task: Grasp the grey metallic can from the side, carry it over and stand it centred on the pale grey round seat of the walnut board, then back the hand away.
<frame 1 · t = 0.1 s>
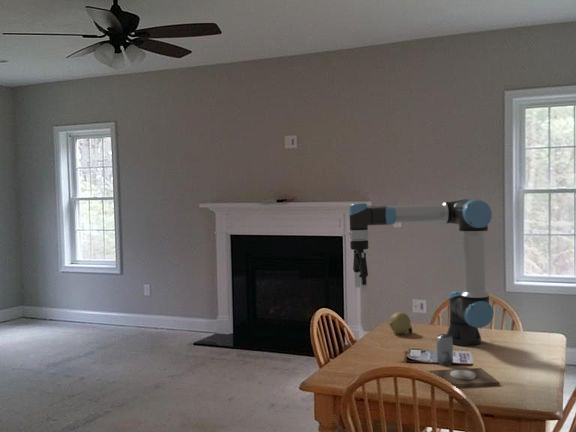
hand: (360, 290, 233), 28 cm above the table, fingers open, 13 cm apart
seat board: (463, 379, 201), on the table
olive green rounded lump: (400, 334, 268), on the table
grey metallic can: (445, 363, 220), on the table
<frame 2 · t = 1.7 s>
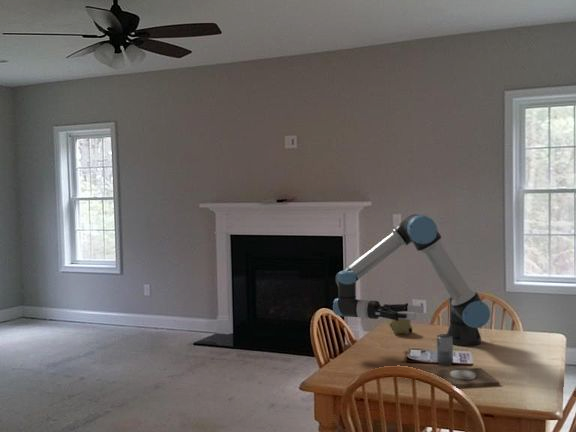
hand: (419, 313, 223), 20 cm above the table, fingers open, 13 cm apart
nothing on the table moved.
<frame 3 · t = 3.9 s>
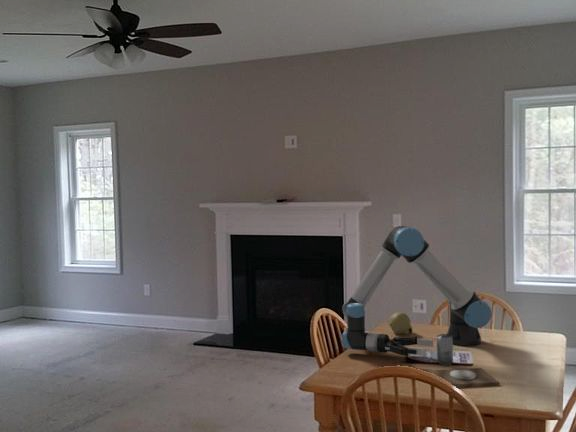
hand: (429, 347, 222), 6 cm above the table, fingers open, 13 cm apart
nothing on the table moved.
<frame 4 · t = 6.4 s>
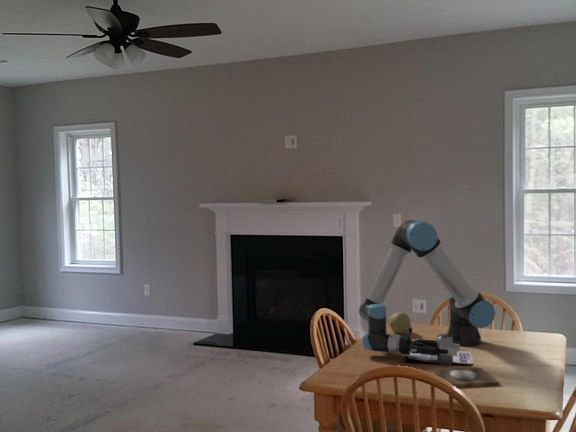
hand: (458, 349, 217), 6 cm above the table, fingers closed on grey metallic can, 6 cm apart
grey metallic can: (445, 363, 220), on the table, touching gripper
everything else where it was.
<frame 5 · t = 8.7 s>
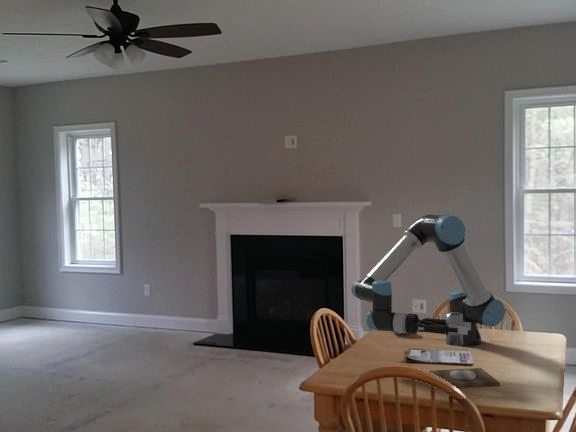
hand: (469, 328, 201), 18 cm above the table, fingers closed on grey metallic can, 6 cm apart
grey metallic can: (454, 343, 204), point 12 cm above the table, touching gripper
everything else where it was.
when the fingers open (9 cm above the table, at t = 11.3 s): grey metallic can drops 1 cm, resting on seat board.
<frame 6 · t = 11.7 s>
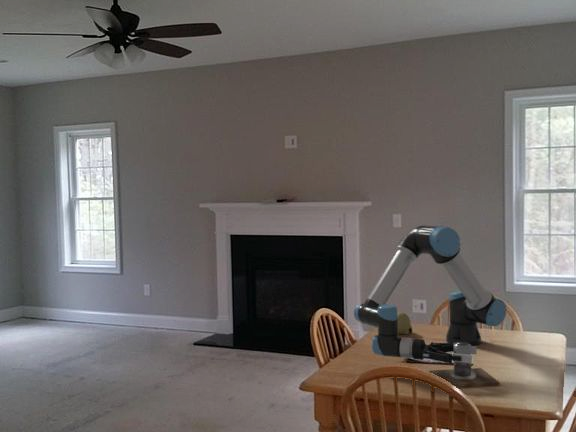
hand: (474, 354, 198), 9 cm above the table, fingers open, 11 cm apart
grey metallic can: (462, 373, 201), point 2 cm above the table, touching seat board
everything else where it was.
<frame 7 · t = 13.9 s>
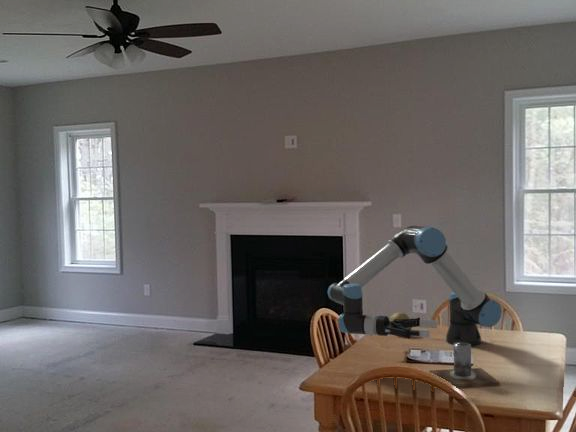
hand: (433, 328, 204), 18 cm above the table, fingers open, 13 cm apart
nothing on the table moved.
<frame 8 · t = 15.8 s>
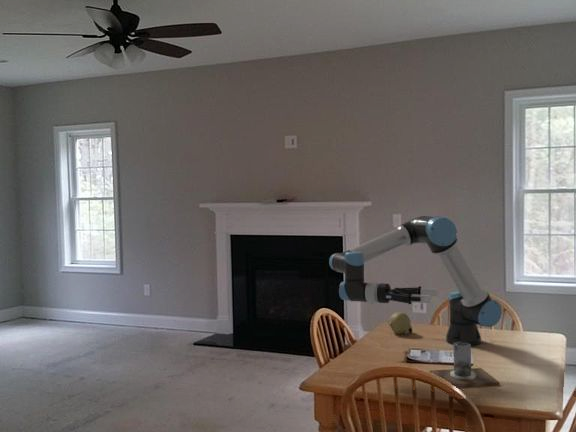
hand: (434, 296, 204), 30 cm above the table, fingers open, 13 cm apart
nothing on the table moved.
at the end: grey metallic can 0.1 cm off-centre on the seat board, point 2.0 cm above the seat board's base; grey metallic can tilted 0°; the gripper is holding nothing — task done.
